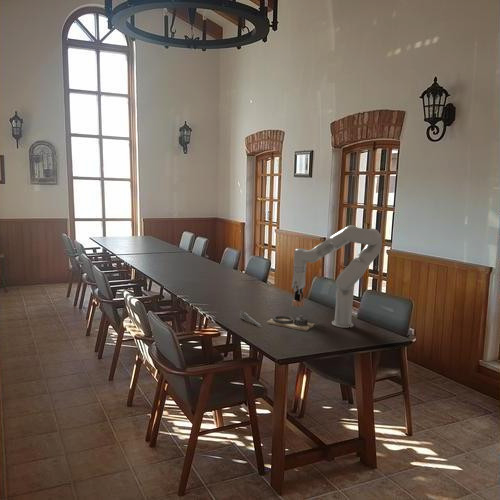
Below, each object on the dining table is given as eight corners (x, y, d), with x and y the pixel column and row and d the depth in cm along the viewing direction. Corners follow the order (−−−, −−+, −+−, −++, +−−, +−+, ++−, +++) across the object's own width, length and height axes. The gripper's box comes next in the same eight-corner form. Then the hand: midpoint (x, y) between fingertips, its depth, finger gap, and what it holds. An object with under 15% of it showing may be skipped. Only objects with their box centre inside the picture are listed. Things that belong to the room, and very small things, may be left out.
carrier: (277, 318, 294) (277, 307, 294) (314, 325, 283) (315, 314, 283) (266, 323, 282) (267, 312, 281) (305, 331, 271) (306, 320, 270)
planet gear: (295, 303, 298) (295, 291, 297) (305, 305, 295) (306, 293, 294) (290, 305, 292) (291, 293, 291) (301, 307, 289) (301, 295, 288)
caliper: (239, 319, 289) (240, 308, 288) (241, 318, 290) (241, 308, 289) (260, 328, 273) (261, 317, 272) (262, 328, 274) (263, 317, 273)
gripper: (299, 266, 300) (297, 296, 302) (288, 270, 285) (287, 301, 288) (310, 268, 296) (309, 298, 299) (300, 272, 282) (299, 303, 284)
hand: (298, 299), depth 293 cm, fingers closed on planet gear, 3 cm apart
